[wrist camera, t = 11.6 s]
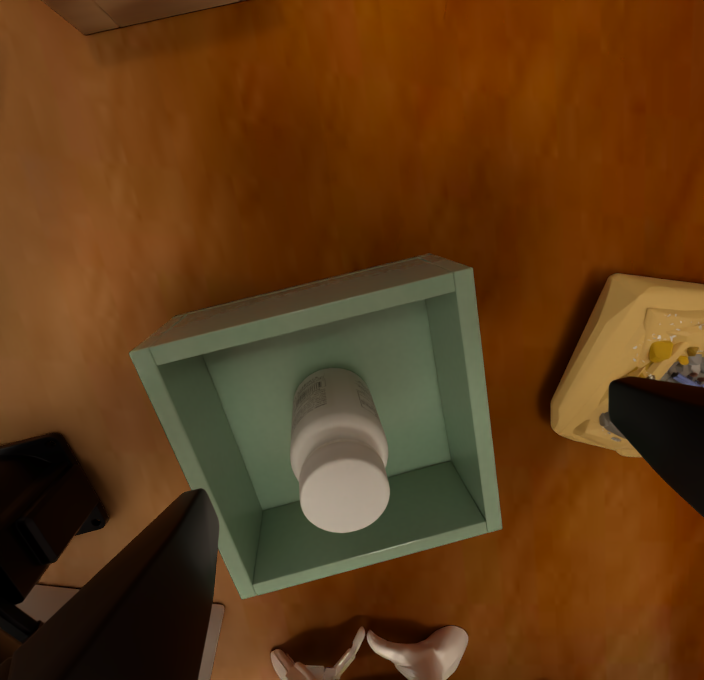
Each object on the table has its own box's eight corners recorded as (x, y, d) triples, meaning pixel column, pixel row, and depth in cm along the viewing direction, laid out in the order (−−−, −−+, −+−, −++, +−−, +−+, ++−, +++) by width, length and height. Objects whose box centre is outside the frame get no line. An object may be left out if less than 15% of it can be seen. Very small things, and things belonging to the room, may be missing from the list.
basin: (255, 517, 24) (241, 600, 19) (174, 315, 20) (127, 352, 14) (461, 462, 25) (502, 529, 19) (429, 252, 20) (473, 267, 15)
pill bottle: (289, 432, 22) (281, 543, 15) (297, 362, 21) (292, 444, 13) (364, 437, 23) (392, 545, 15) (376, 369, 21) (413, 451, 14)
